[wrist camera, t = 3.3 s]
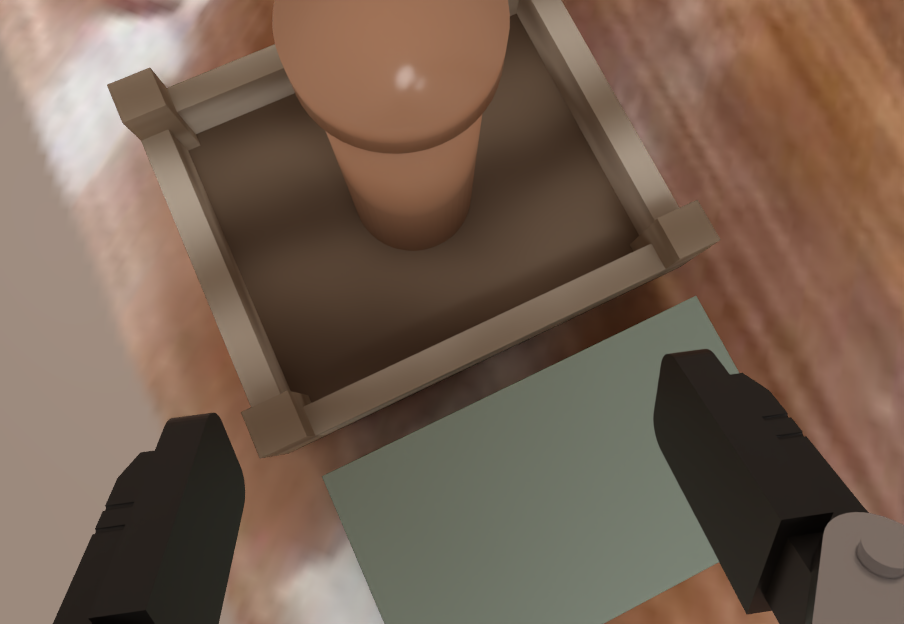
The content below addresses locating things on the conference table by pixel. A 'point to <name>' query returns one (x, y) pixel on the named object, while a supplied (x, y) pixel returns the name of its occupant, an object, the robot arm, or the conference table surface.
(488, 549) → the green stand
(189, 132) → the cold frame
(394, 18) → the brown capped bottle
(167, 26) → the conference table surface
